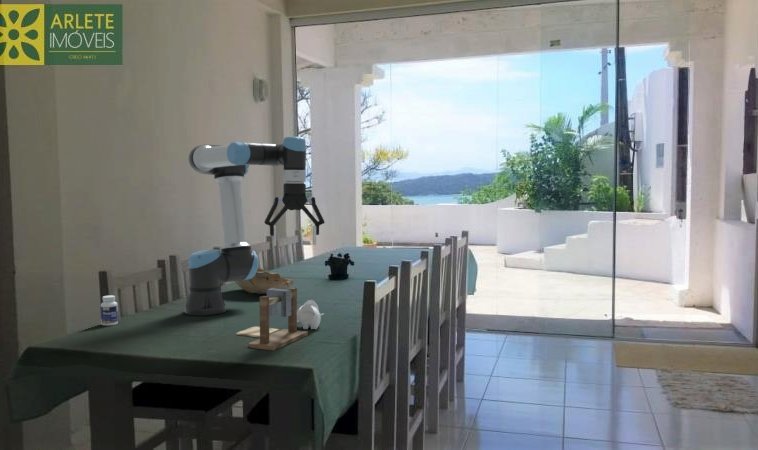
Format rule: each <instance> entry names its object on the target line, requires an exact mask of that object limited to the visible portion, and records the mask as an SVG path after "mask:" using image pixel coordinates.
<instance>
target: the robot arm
mask: <svg viewBox="0 0 758 450" xmlns="http://www.w3.org/2000/svg"><path fill="white" fill-rule="evenodd" d="M306 144H307V143H306V139H305V137H301V136H285V137H284V138H283V142H282V143H262V142H261V143H260V142H244V141H232V142H231V143H229V144H223V145H221V144H220V145H219V144H217V145H215V144H200V145H197V146H195V147H193V148H192V149H191V150H190V151H189V154H188V164H189V166H190V167H191V168H192V169H193V170H194V171H195V172H197V173H199V174H201V175H202V174H203V175H209V176H210V175H211V176H212V175H213V177H214V181H215V182H216V183H217V184H218V187H219V188H218V189H219V199H220V209H221V211H220V212H221V221H222V232H223V240H224V241H223V243H224V244H223V245H222V246H221V248H220V249H217V248H215V249H214V248H213V249H203V250H200V251H196V252H193V253H191V254H190V255H189V257H188V265H187V267H188V288H189V291H188V296H187V299H186V303H185V305H184V313H185V314H186V315H189V316H196V317H197V316H199V317H201V316H202V317H203V316H213V315H214V316H215V315H219V314H223V313H225V312H226V311H227V306H226V303H225V299H224V296H223V294H222V285H221V284H222V283H231V282H232V283H233V282H235V281H244V280H248V279H251V278H253V277H254V276H255V274H256V272H257V269H258V268H259V257H258V255H257V252H256V251H255V250H253V249H252V246H251V244H250V243H248V242H247V232H246V224H245V223H246V222H245V211H244V203H243V192H242V182H243V181H244V180H245V175H246V174H248V171H249V167H250V166H272V167H280V166H281V167H282V166H283V182H284V183H283V196H282V197H278V196H275V197H274V198H273V204H272V206H271V208H270V210H269V212H268V213H267V216H266V218H265V220H264V224H265V225H268V226H269V236H271V237H272V246H273V247H276V246H277V225H276V223H277V222H278V221H279V220H280V219H281V218H282V217H283V215H284V214H285V213H286V212H288V211H287V210H289V211H295V210H296V211H300V210H302V211H303V212H304V214H305V215H306V216H307V217H308V218H309V219H310V221H311V222H312V223H313V225H312V245H313V246H316V245H317V236H319V235H320V226H321V225H323V224H326V223H325V220H324V217H323V216H322V213H321V212H320V209H319V207H318V205H317V204H316V198H315V197H314V196H311V197H307V192H306V189H307V185H306V180H307V175H306V174H307V173H306V172H307V169H306V168H307V167H306V166H307V145H306ZM281 202H282V203H283V204H284V205H283V207H282V208H281V209H280V210H279V212H278V213H277V214H276V215H275V216H274V217H273V215H274V213H275V212H276V210H277V207H278V205H279V204H281ZM307 202H308V203H309V204H310V205H311V207H312V209H313V211H314V213H315V216H316V217H317V219H318V220H317V219H316V218H315V216H314V215H313V214H312V213H311V211H310V210H309V209H308V207H306V204H307ZM272 217H273V219H272ZM271 219H272V220H271Z"/></svg>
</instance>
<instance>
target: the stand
mask: <svg viewBox="0 0 758 450" xmlns="http://www.w3.org/2000/svg"><path fill="white" fill-rule="evenodd" d="M297 289H298V288H297V287H289V288H288V289H287V290H291V315H290V316H288V317H287V324H288V327H287V328H283V329H281V330H280V329H279V331H277V332H275V333H273V334H270V335H269V328H270V315H269V305H272V304H275V303H277V304H279V303H281V297H272V298H269V296H267V295H262V296H261V295H260V296H259V327H260V338H258V339H256V340H253V341H251V342H248V343H247V347H248V348H251V349H258V350H259V349H260V350H266V351H273V352H274V351H276V350H279V349H280V348H283V347H285V346H287V345H289V344H292V343H294V342H296V341H298V340H300V339H302V338H303V339H304V338H305V337H308V335H309V334H308V333H309V331H308V330H307V331H306V330H298V326H297V311H298V307H297V304H298V301H297V299H298V296H297V295H298V293H297V292H298V291H297Z"/></svg>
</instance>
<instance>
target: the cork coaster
mask: <svg viewBox="0 0 758 450" xmlns="http://www.w3.org/2000/svg"><path fill="white" fill-rule="evenodd" d="M277 331H280V329H279V328H272V327H269V335H270V334H273V333H275V332H277ZM236 335H237V336H242V337H243V336H244V337H252V338H253V337H254V338H258V339H260V326H251V327H248V328H246V329H243V330H239V331H238V332H236Z"/></svg>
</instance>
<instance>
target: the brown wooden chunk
mask: <svg viewBox="0 0 758 450" xmlns="http://www.w3.org/2000/svg"><path fill="white" fill-rule="evenodd" d="M234 283H236V285H238V286H239V288H240V289H242V290H243V291H245V292H247V293H251V294H254V293H257V294H256V295H267V289H271V288H276V289H287V290H288V288H291V286H292V285H293V284H294V280H293V279H292V278H291V279H290V278H284V277H281V275H280V273H278V272H277V273H276V272H269V271H267V270H265V269H263V268H259V267H258V269H257V272H256V274H255V276H254V277H253V278H251V279H248V280H244V281H234Z"/></svg>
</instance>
